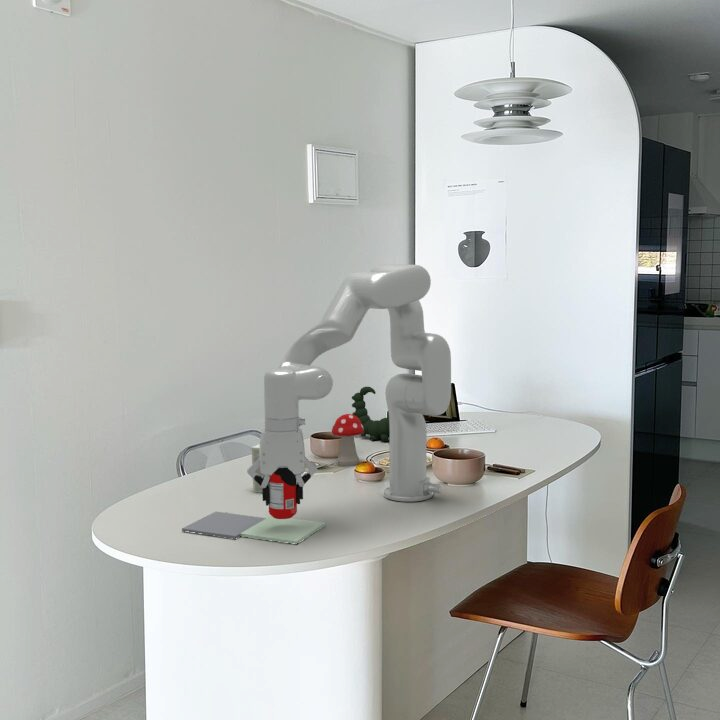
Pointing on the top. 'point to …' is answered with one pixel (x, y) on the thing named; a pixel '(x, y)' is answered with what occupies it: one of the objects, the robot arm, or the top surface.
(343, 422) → the decorative mushroom
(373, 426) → the toy figurine
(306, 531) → the green pad
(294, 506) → the beverage can
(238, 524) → the grey pad
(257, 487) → the skincare box
